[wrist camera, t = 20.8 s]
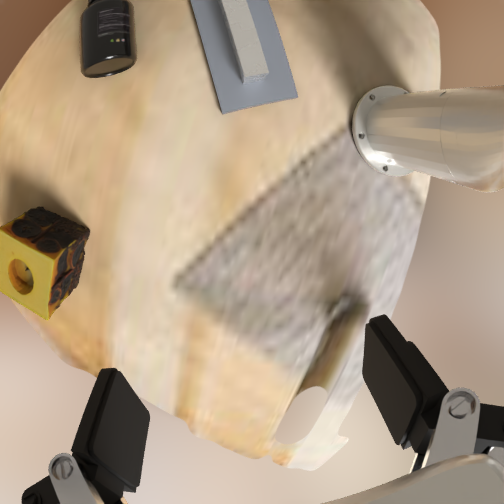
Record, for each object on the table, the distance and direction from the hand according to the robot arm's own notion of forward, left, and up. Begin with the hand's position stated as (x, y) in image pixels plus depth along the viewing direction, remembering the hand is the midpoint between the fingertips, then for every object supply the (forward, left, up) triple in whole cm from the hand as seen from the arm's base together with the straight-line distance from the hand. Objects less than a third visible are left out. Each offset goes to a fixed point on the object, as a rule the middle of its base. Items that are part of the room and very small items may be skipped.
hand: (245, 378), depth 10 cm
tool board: (-6, -25, -28) cm, 38 cm away
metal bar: (-6, -25, -26) cm, 37 cm away
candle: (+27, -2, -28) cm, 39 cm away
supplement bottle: (+9, -20, -24) cm, 33 cm away
